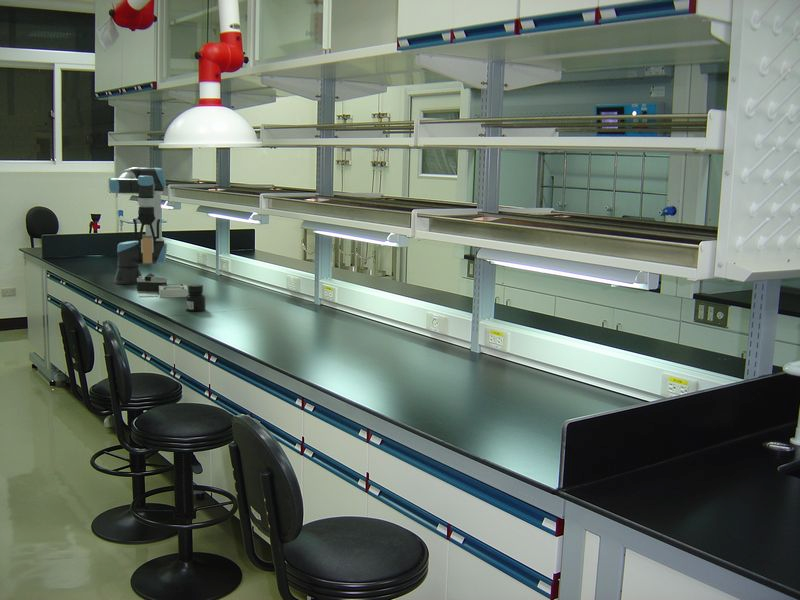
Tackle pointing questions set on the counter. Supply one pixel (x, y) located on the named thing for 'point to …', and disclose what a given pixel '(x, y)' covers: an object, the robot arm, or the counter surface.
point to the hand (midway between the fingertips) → (147, 252)
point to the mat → (148, 295)
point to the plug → (147, 248)
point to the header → (173, 290)
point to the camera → (150, 283)
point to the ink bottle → (195, 298)
